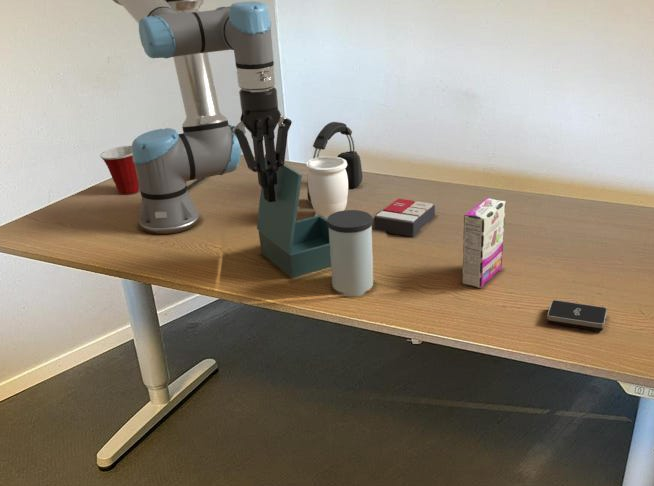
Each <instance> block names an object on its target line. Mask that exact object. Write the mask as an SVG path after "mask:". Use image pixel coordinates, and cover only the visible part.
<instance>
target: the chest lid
mask: <svg viewBox="0 0 654 486" xmlns="http://www.w3.org/2000/svg"><path fill="white" fill-rule="evenodd" d="M264 158H265V167H266V169H268V167H267V161H266V153H264ZM276 173H277V184H276V185H274V190H275V199H276V201H274V202H268V201H267V200H265V199H264V191H263V188H262V187H261V186H260V195H259V204H258V205H259V206H258V212H257V224H256V230H257V231H258V232H259V231H260V232H261V233H263V234H264V235H265V236H266V237H268V238H269V239H270V240H272V241H273V242H274V243H275V244H277V245H278V246H279V247H280V248H282V249H283V250H284V251H286V252H287V253H288V254H291V253H292V246H293V238H294V231H295V223H296V221H297V214H298V208H299V200H300V193H301V192H300V191H301V185H302V177H303V174H302V173H300V172H299V171H296V170H295V169H293V168H292V167H290V166H288V165H287V164H285V163H284V165H283V166H280V167H278V171H277V172H276Z"/></svg>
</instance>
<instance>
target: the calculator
mask: <svg viewBox="0 0 654 486" xmlns="http://www.w3.org/2000/svg"><path fill="white" fill-rule="evenodd" d="M435 215H436V205H435V204H433V202H432V203H430V202H425V201H418V200H417V201H415V200H411V199H405V198H397V199H396V200H394V201H393V202H392V203H390V204H389V205H387V206H386V207H385V208H383V210H382V211H380V212H378V213H377V214H376V215H374V217H373V227H374V229H377V230H382V231H385V233H389V234H395V235H402V236H407V237H414V236H416V235H417V234H418V233H419V232H420V230H421V228H423V227H424V226H425V225H426V224H428V222H430V221H431V220H432V219H434V217H435Z"/></svg>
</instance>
